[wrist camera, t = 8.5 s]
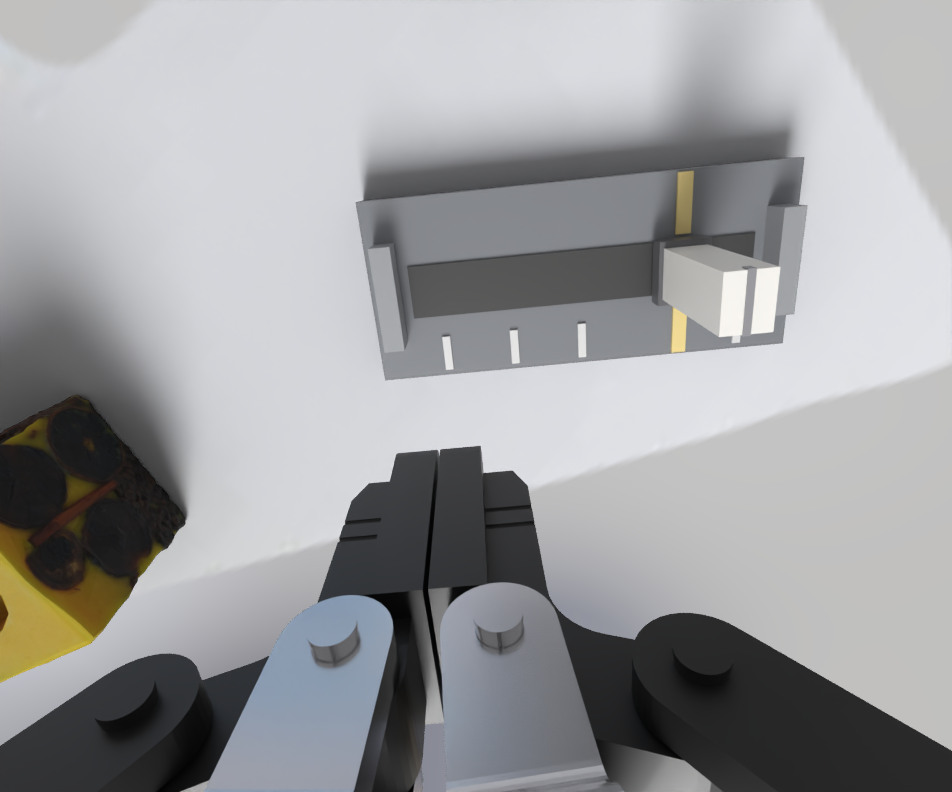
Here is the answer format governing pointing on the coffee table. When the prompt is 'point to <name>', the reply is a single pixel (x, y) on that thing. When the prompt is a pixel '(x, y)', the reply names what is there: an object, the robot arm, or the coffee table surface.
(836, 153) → the coffee table surface
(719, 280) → the fader
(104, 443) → the candle
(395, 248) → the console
